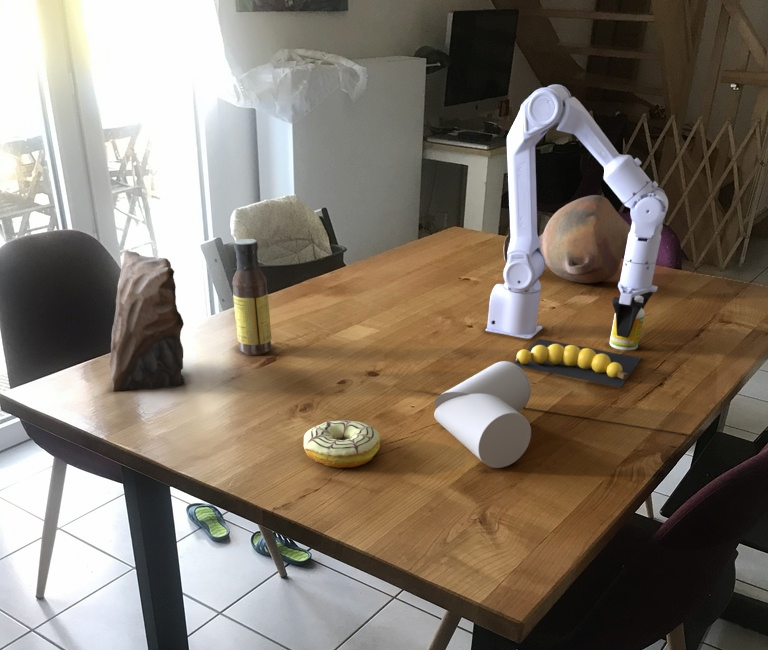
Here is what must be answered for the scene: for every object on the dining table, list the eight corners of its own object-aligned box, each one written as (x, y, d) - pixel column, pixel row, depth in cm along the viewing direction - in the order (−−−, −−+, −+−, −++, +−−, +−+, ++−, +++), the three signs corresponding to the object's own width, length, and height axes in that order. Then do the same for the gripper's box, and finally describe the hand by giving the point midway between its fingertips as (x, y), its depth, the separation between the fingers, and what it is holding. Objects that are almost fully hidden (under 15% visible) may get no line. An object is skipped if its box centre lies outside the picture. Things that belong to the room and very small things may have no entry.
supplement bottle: (638, 352, 154) (648, 302, 149) (609, 349, 155) (618, 299, 149) (636, 342, 158) (646, 293, 153) (608, 340, 159) (617, 291, 154)
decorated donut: (321, 433, 122) (320, 410, 120) (388, 445, 119) (389, 422, 117) (292, 463, 113) (292, 439, 111) (364, 477, 110) (365, 452, 108)
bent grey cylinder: (402, 409, 126) (463, 467, 111) (419, 345, 122) (484, 395, 106) (495, 416, 134) (564, 470, 119) (514, 355, 130) (588, 403, 114)
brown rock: (130, 362, 144) (113, 248, 133) (200, 364, 144) (189, 250, 133) (108, 390, 133) (88, 268, 122) (185, 393, 133) (171, 271, 122)
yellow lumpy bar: (513, 366, 146) (515, 346, 143) (520, 354, 151) (522, 335, 149) (625, 383, 140) (629, 362, 138) (628, 370, 145) (632, 350, 143)
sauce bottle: (267, 342, 154) (262, 235, 143) (275, 353, 149) (270, 243, 138) (234, 346, 152) (226, 237, 141) (241, 357, 147) (233, 246, 137)
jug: (638, 282, 195) (523, 282, 211) (645, 195, 190) (526, 202, 205) (613, 283, 179) (490, 284, 195) (619, 189, 174) (492, 197, 189)
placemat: (511, 366, 146) (511, 364, 146) (538, 340, 159) (539, 338, 158) (620, 389, 139) (621, 387, 139) (641, 360, 151) (641, 358, 151)
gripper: (653, 272, 141) (638, 347, 148) (669, 254, 152) (655, 324, 159) (613, 266, 143) (600, 340, 150) (632, 249, 154) (619, 318, 161)
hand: (626, 331), depth 155 cm, fingers closed on supplement bottle, 5 cm apart
